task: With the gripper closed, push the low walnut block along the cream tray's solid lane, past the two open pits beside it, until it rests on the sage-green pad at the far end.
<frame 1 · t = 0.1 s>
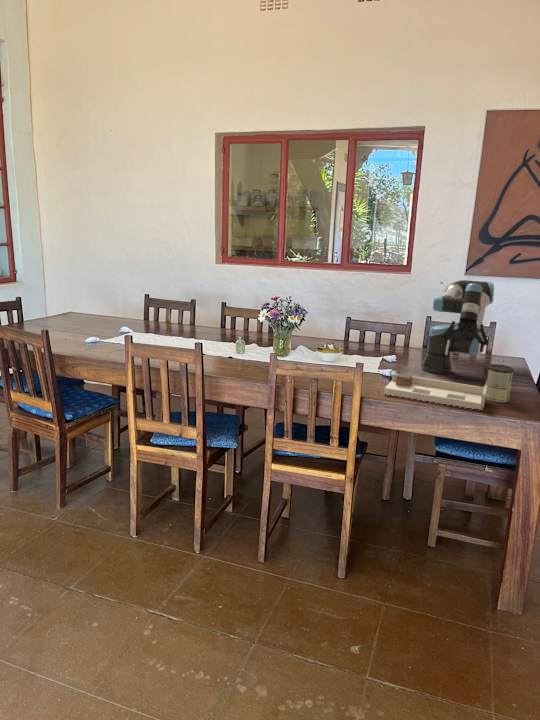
hand: (461, 355, 236), 15 cm above the table, tool tilted 35°, fingers open, 13 cm apart
coffee can: (495, 399, 227), on the table
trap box: (434, 397, 224), on the table
block: (403, 384, 232), point 3 cm above the table, touching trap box
sunglasses: (404, 384, 245), on the table
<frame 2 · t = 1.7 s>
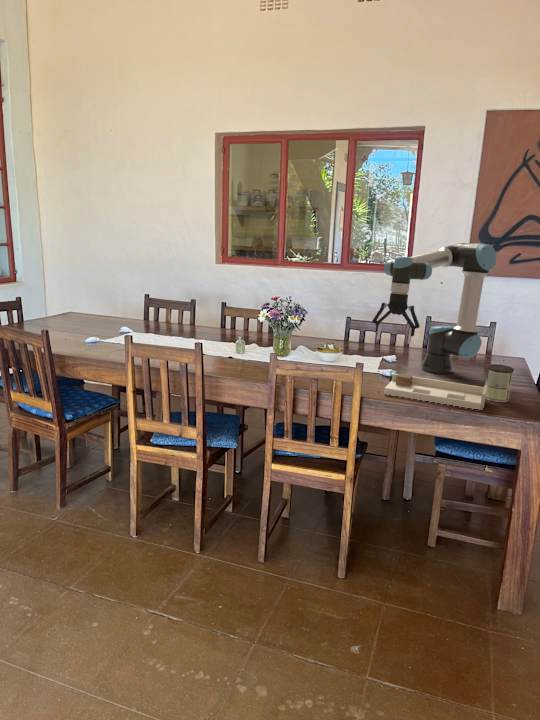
hand: (393, 341, 230), 22 cm above the table, tool pointing down, fingers open, 13 cm apart
nothing on the table moved.
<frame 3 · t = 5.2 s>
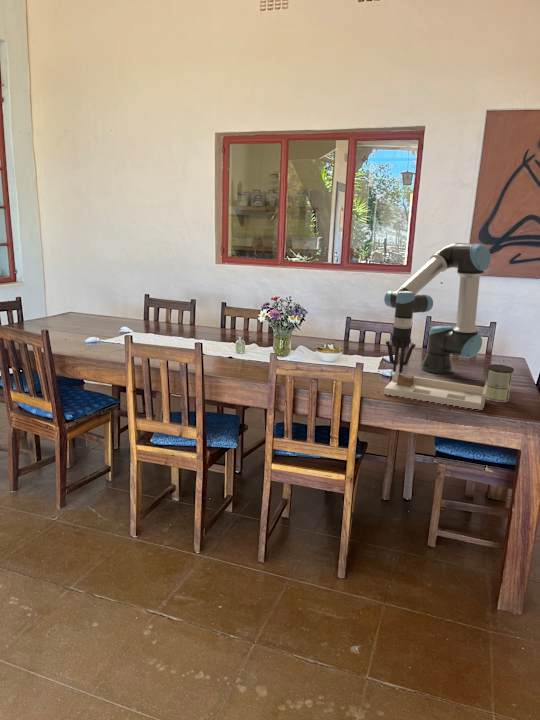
hand: (397, 379, 233), 5 cm above the table, tool pointing down, fingers closed
block: (404, 384, 232), point 3 cm above the table
everything else where it was.
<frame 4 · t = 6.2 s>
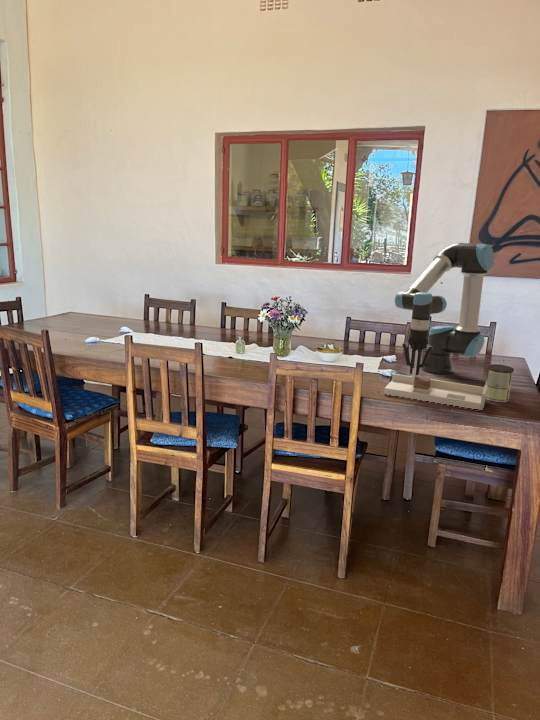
hand: (413, 381, 230), 5 cm above the table, tool pointing down, fingers closed
block: (421, 387, 228), point 3 cm above the table, touching gripper, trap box
everything else where it was.
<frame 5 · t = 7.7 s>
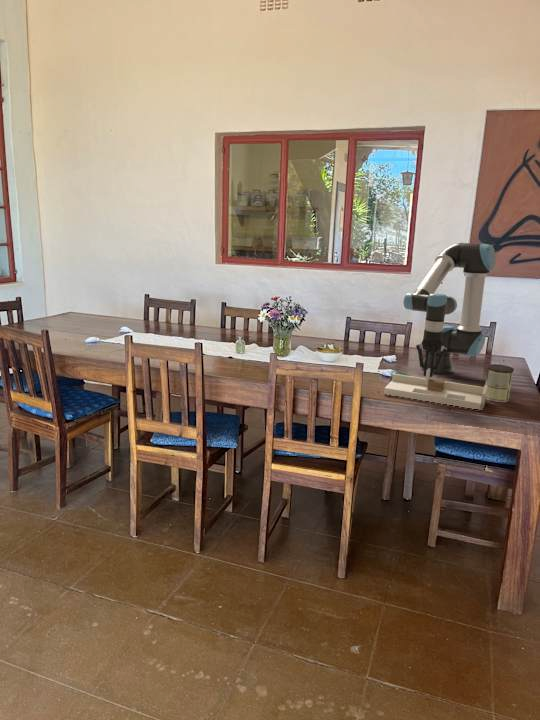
hand: (427, 383, 227), 5 cm above the table, tool pointing down, fingers closed
block: (435, 389, 226), point 3 cm above the table, touching gripper, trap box
everything else where it was.
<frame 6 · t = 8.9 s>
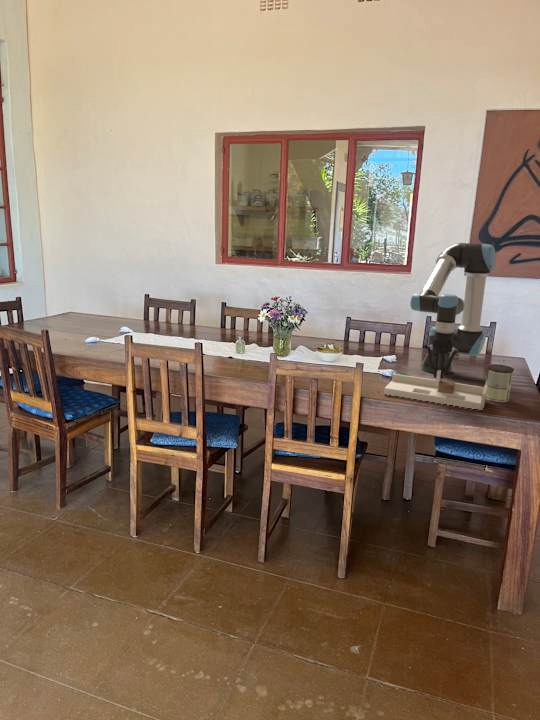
hand: (437, 385, 226), 5 cm above the table, tool pointing down, fingers closed
block: (445, 391, 224), point 3 cm above the table, touching gripper, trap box
everything else where it was.
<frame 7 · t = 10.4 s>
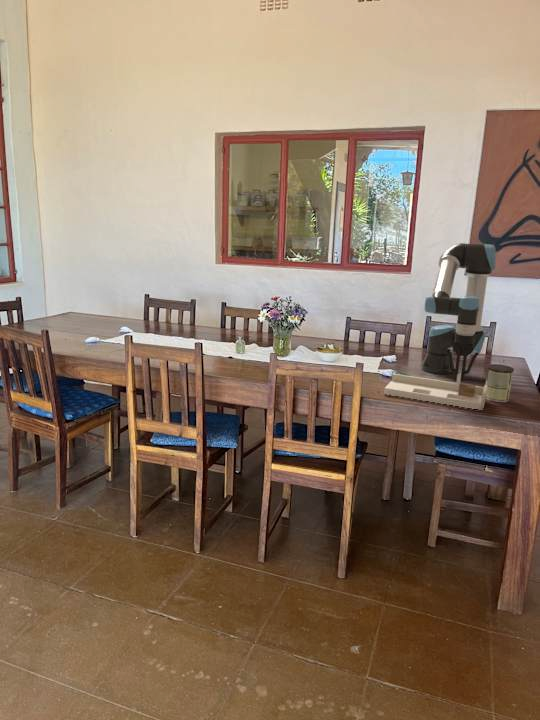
hand: (457, 388, 222), 5 cm above the table, tool pointing down, fingers closed
block: (466, 394, 220), point 3 cm above the table, touching gripper, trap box
everything else where it was.
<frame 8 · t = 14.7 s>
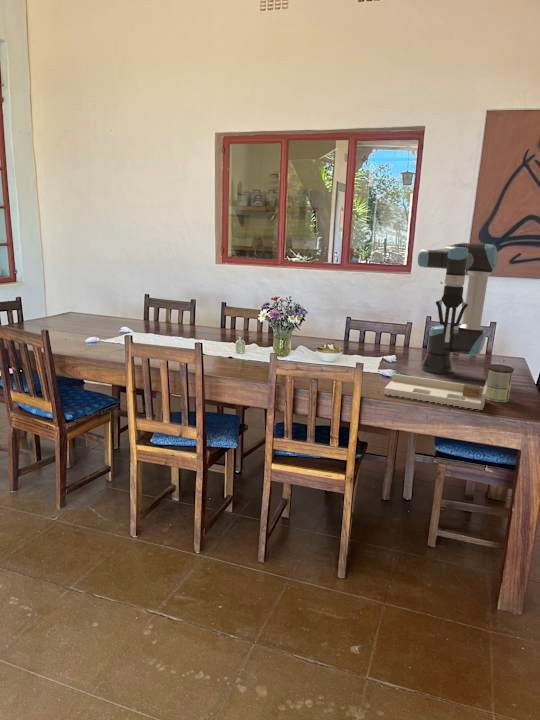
hand: (447, 341, 220), 24 cm above the table, tool pointing down, fingers closed
block: (470, 395, 220), point 3 cm above the table, touching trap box
at the end: block inside the target area on the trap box (0.8 cm from its centre), point 3.0 cm above the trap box's base; block tilted 0° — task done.
